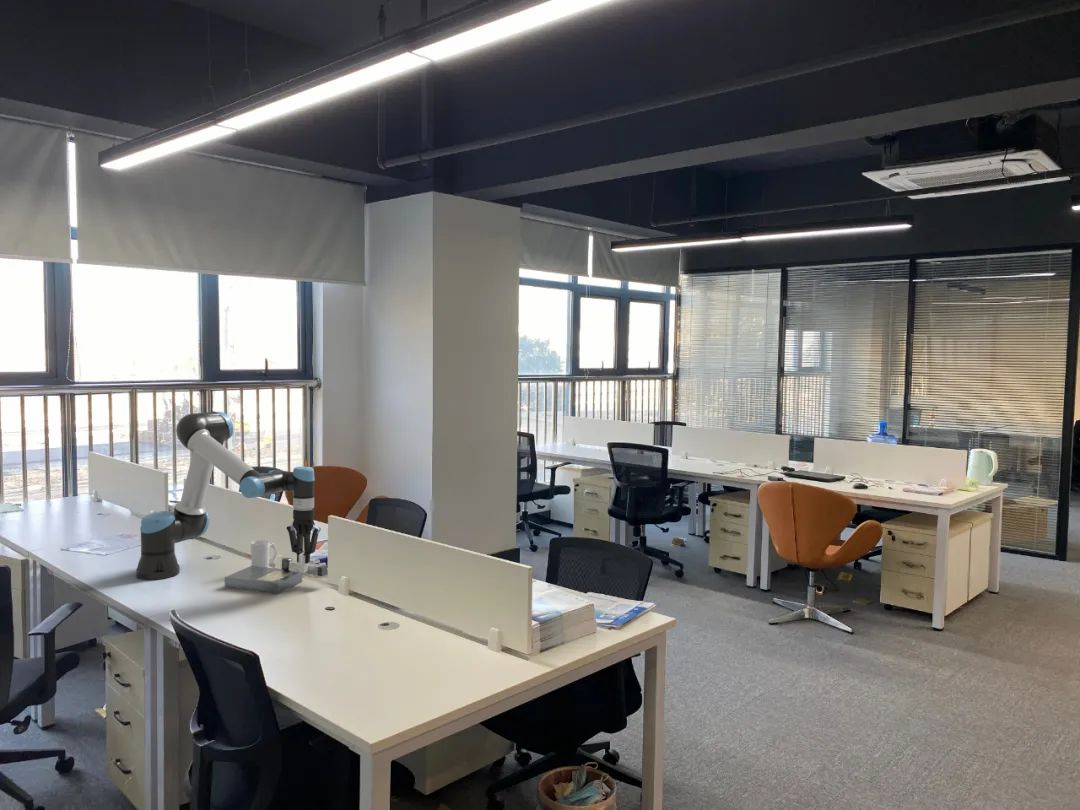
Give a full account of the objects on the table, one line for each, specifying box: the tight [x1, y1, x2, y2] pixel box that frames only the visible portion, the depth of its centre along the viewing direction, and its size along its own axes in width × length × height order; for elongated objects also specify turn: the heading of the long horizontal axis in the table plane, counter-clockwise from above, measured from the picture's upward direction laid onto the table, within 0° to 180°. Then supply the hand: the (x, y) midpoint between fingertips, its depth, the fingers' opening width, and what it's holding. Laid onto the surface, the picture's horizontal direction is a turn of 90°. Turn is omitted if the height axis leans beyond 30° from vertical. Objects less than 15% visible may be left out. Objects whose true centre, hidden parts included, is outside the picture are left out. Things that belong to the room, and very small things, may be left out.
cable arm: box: [281, 557, 328, 577], centre depth 291 cm, size 19×4×4 cm, turn 68°
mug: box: [250, 539, 278, 568], centre depth 305 cm, size 10×7×12 cm, turn 133°
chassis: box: [224, 565, 303, 595], centre depth 288 cm, size 22×16×4 cm
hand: (303, 571), depth 287 cm, fingers closed
